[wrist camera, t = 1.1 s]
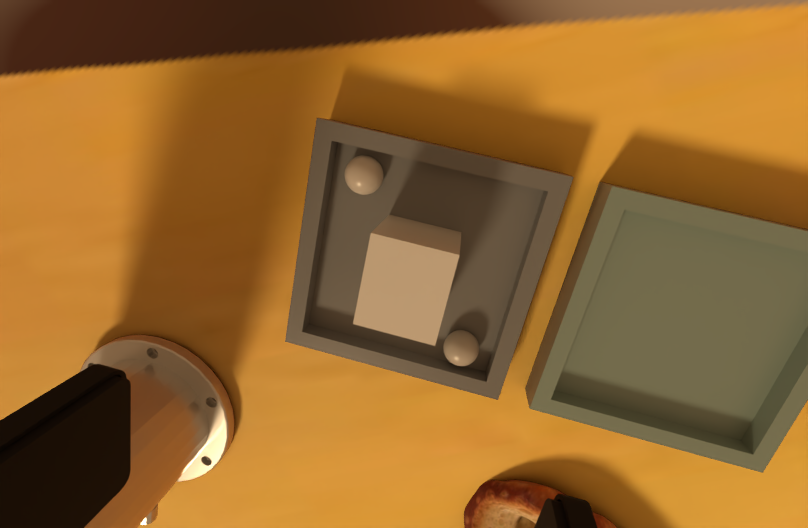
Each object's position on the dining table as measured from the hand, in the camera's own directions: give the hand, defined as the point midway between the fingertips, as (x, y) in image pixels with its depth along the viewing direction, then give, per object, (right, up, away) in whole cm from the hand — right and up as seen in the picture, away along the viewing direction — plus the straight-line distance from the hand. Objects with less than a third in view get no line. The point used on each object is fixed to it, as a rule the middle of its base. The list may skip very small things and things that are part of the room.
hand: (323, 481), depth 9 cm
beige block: (+2, +5, +17) cm, 18 cm away
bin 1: (+3, +5, +18) cm, 19 cm away
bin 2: (+18, +1, +16) cm, 24 cm away
